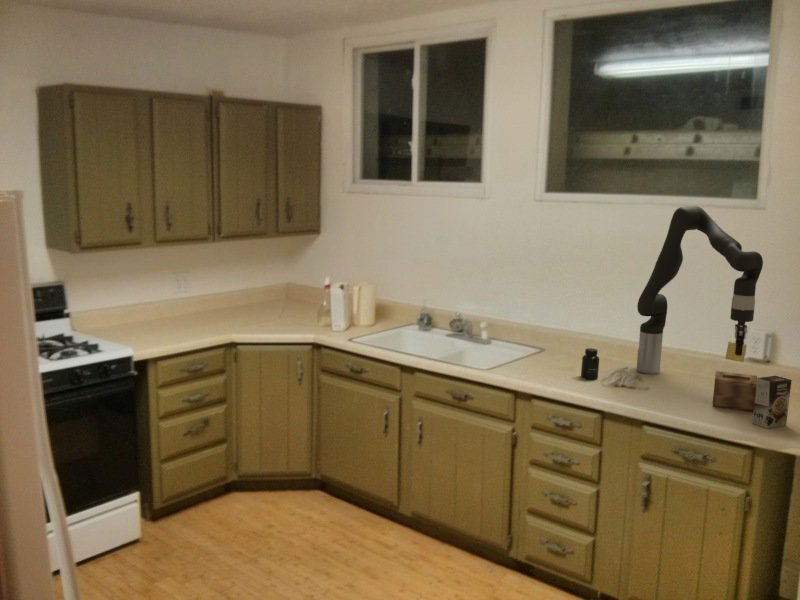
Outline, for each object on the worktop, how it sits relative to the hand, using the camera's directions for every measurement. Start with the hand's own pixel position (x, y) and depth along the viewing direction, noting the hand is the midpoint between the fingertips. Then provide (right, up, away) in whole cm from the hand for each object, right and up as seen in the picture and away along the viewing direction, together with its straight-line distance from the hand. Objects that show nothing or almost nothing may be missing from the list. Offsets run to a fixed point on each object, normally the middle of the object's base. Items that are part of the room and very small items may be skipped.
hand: (738, 354), depth 265 cm
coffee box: (+3, -23, -17) cm, 29 cm away
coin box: (0, -19, +3) cm, 19 cm away
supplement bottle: (-45, -13, +36) cm, 59 cm away
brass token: (-1, -2, +1) cm, 3 cm away
